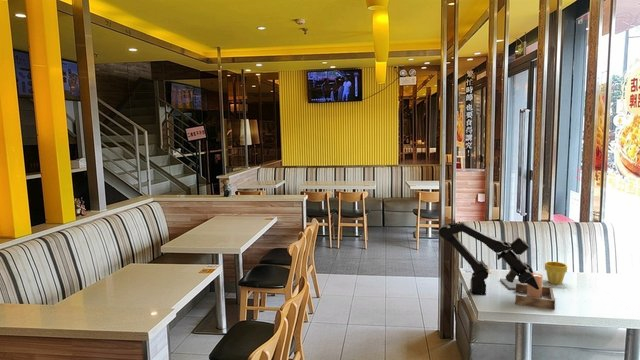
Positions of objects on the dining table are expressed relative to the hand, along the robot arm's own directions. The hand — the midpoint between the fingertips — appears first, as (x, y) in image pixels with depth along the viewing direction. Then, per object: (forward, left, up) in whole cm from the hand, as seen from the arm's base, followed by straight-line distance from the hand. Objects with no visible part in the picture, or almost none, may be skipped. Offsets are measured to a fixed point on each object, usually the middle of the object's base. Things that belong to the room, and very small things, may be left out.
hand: (537, 286), depth 203 cm
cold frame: (-1, 0, -7) cm, 7 cm away
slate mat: (-1, +20, -7) cm, 22 cm away
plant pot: (+20, +26, -7) cm, 34 cm away
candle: (-1, 0, -7) cm, 7 cm away
